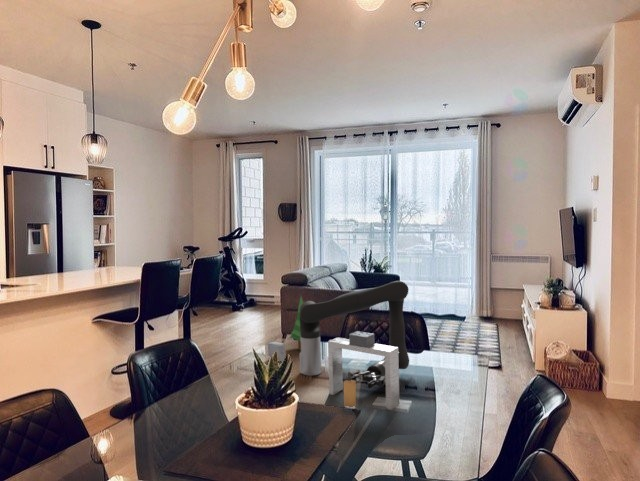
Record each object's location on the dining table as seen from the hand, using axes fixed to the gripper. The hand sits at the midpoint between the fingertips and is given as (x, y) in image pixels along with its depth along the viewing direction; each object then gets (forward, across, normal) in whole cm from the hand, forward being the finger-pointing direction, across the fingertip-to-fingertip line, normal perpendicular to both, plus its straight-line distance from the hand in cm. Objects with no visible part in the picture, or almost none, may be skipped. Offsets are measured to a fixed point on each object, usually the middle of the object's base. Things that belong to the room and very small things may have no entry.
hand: (358, 383), depth 177 cm
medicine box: (-21, -62, +7) cm, 66 cm away
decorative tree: (-43, -63, +7) cm, 77 cm away
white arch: (-3, 0, +7) cm, 7 cm away
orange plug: (+7, 0, +7) cm, 10 cm away
